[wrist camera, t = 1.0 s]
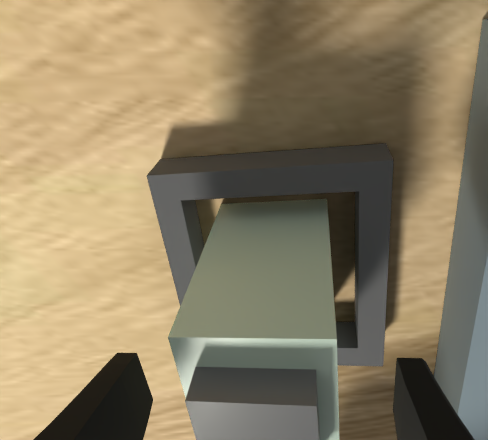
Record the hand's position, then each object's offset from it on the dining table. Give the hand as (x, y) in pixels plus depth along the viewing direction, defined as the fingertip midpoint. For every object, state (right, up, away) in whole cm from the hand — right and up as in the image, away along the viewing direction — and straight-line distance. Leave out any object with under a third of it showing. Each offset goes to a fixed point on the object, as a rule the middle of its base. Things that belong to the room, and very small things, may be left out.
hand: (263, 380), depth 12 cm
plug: (+1, +3, +5) cm, 6 cm away
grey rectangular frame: (+1, +3, +5) cm, 6 cm away
